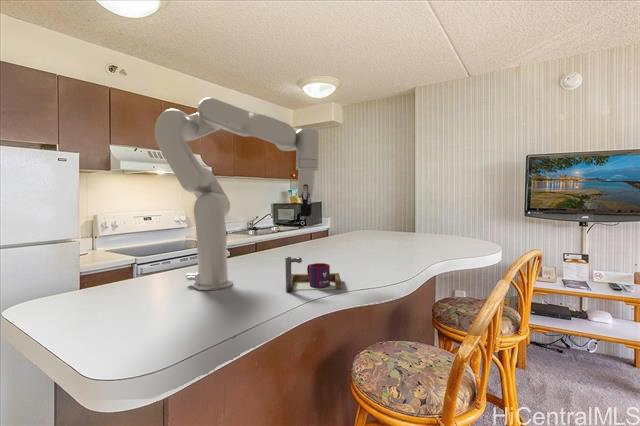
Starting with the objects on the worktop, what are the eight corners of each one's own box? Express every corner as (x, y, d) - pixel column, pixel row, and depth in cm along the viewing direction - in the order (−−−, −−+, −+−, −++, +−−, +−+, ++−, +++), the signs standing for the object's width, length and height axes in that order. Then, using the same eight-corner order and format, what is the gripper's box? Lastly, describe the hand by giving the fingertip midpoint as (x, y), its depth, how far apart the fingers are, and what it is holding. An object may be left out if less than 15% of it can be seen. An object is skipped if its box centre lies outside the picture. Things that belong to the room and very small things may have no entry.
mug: (316, 289, 103) (315, 268, 103) (301, 282, 112) (301, 262, 111) (333, 286, 106) (333, 265, 106) (318, 279, 115) (318, 260, 115)
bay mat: (292, 290, 103) (292, 289, 103) (294, 282, 112) (294, 281, 112) (335, 289, 104) (335, 288, 104) (334, 281, 113) (334, 281, 113)
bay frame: (286, 290, 103) (286, 282, 103) (289, 281, 114) (289, 274, 114) (341, 289, 103) (341, 281, 103) (338, 280, 114) (338, 273, 114)
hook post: (285, 292, 101) (285, 257, 100) (286, 291, 103) (285, 256, 102) (302, 292, 101) (301, 257, 100) (302, 290, 103) (302, 256, 102)
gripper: (298, 167, 119) (297, 213, 120) (293, 162, 102) (292, 216, 103) (318, 167, 119) (317, 214, 120) (317, 163, 102) (316, 217, 103)
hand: (306, 215), depth 111 cm, fingers open, 9 cm apart
